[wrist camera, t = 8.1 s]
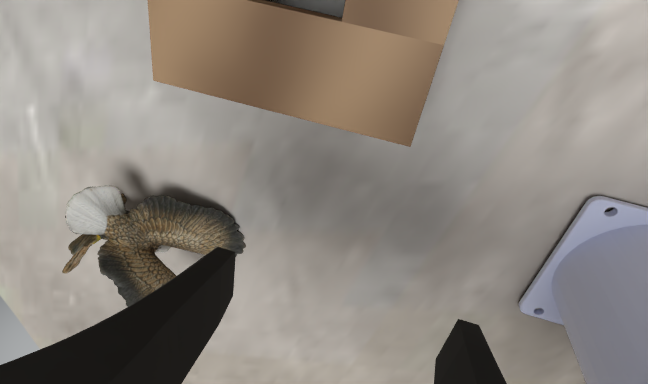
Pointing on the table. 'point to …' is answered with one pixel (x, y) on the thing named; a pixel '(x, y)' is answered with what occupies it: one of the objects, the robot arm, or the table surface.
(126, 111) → the table surface
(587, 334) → the robot arm
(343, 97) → the box
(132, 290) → the eagle figurine
